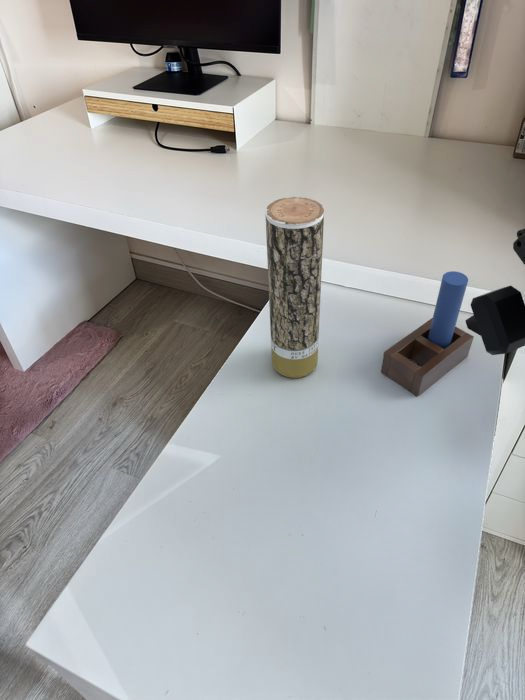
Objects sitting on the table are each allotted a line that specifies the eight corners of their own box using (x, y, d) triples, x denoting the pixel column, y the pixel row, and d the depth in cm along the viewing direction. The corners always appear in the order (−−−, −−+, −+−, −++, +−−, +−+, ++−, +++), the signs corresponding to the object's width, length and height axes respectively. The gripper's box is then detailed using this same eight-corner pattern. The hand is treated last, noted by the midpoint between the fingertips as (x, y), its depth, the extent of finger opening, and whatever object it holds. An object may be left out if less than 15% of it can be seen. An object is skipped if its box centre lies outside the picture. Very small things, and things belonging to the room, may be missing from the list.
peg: (442, 365, 74) (464, 287, 64) (421, 358, 75) (439, 281, 66) (449, 352, 76) (471, 275, 66) (427, 345, 77) (446, 268, 68)
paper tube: (321, 352, 77) (329, 199, 60) (311, 384, 72) (316, 228, 55) (279, 345, 79) (274, 194, 62) (266, 375, 74) (257, 221, 57)
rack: (467, 356, 75) (474, 336, 72) (417, 396, 70) (422, 376, 67) (430, 335, 79) (435, 315, 76) (380, 371, 73) (383, 351, 71)
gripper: (660, 179, 49) (533, 230, 64) (513, 227, 43) (412, 270, 58) (697, 288, 49) (562, 313, 64) (554, 349, 43) (443, 361, 58)
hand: (497, 312), depth 61 cm, fingers open, 9 cm apart
